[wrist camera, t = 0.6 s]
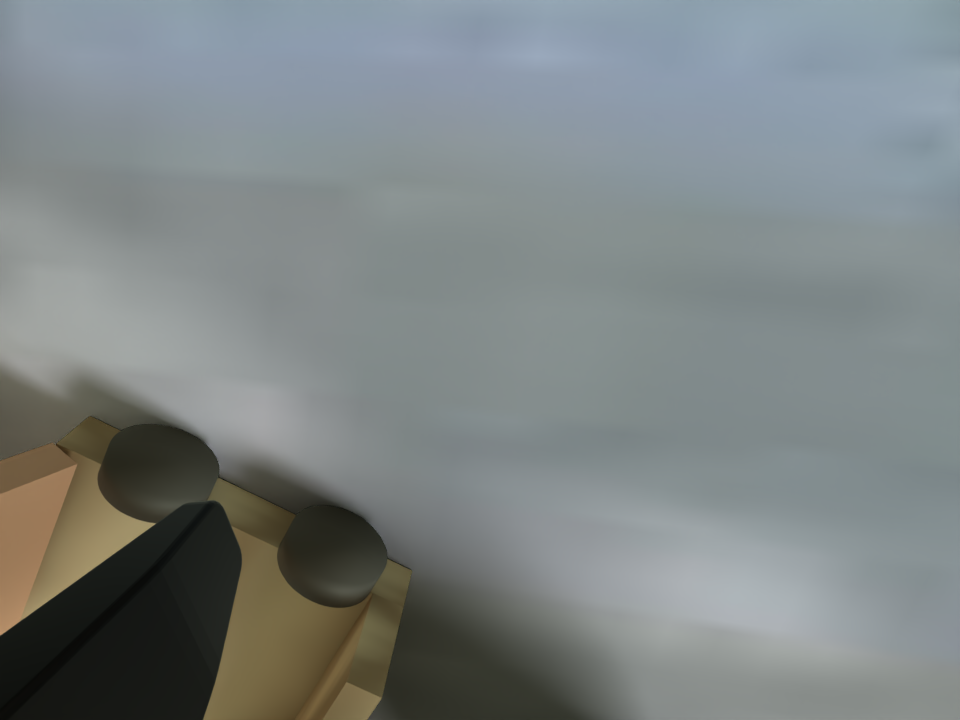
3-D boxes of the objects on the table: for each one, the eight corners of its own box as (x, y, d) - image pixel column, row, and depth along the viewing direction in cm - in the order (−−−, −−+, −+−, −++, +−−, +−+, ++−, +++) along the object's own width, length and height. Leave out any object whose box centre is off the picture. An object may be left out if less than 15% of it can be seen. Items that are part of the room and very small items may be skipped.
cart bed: (426, 548, 28) (398, 673, 22) (265, 799, 34) (212, 946, 28) (99, 389, 26) (-18, 481, 21) (-8, 683, 32) (-120, 815, 27)
